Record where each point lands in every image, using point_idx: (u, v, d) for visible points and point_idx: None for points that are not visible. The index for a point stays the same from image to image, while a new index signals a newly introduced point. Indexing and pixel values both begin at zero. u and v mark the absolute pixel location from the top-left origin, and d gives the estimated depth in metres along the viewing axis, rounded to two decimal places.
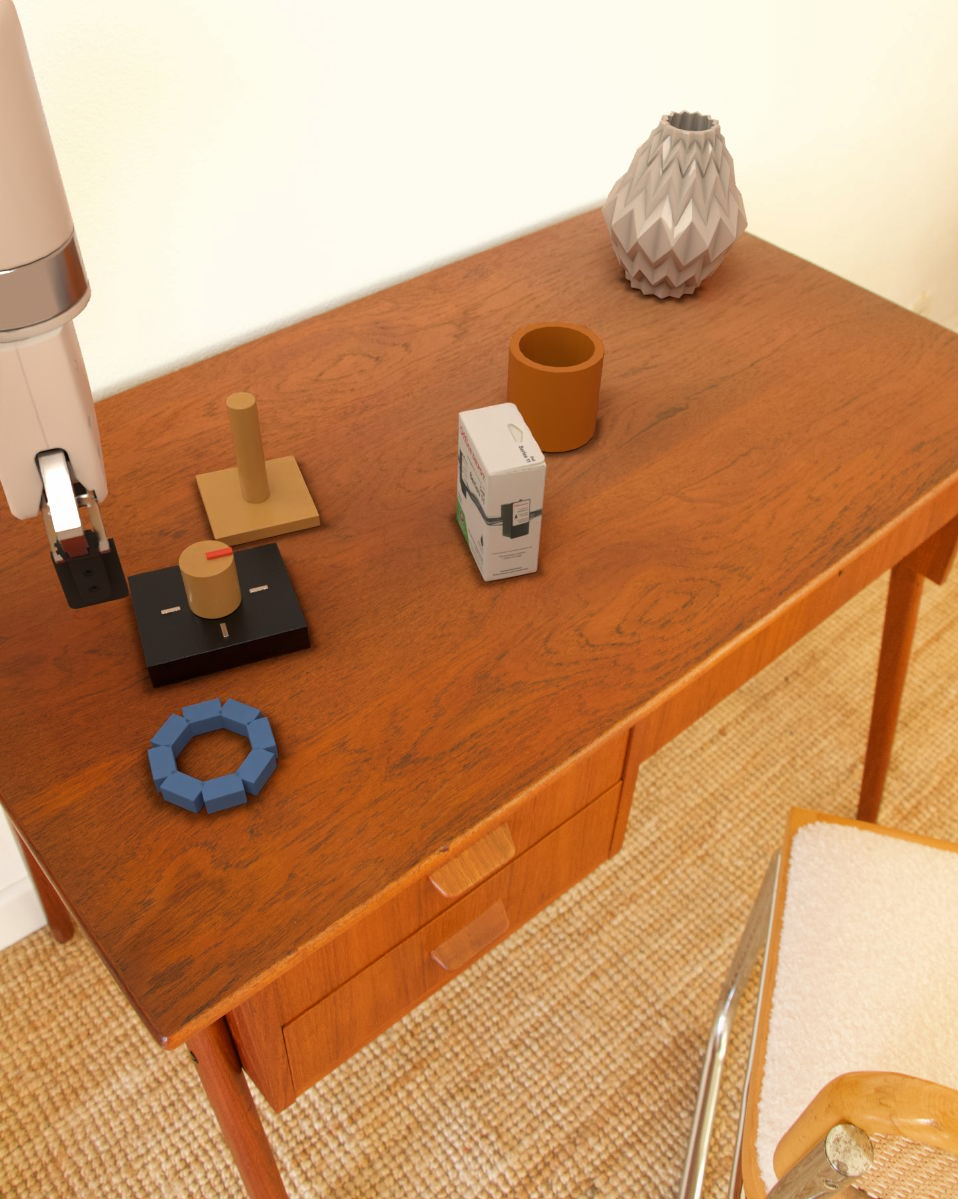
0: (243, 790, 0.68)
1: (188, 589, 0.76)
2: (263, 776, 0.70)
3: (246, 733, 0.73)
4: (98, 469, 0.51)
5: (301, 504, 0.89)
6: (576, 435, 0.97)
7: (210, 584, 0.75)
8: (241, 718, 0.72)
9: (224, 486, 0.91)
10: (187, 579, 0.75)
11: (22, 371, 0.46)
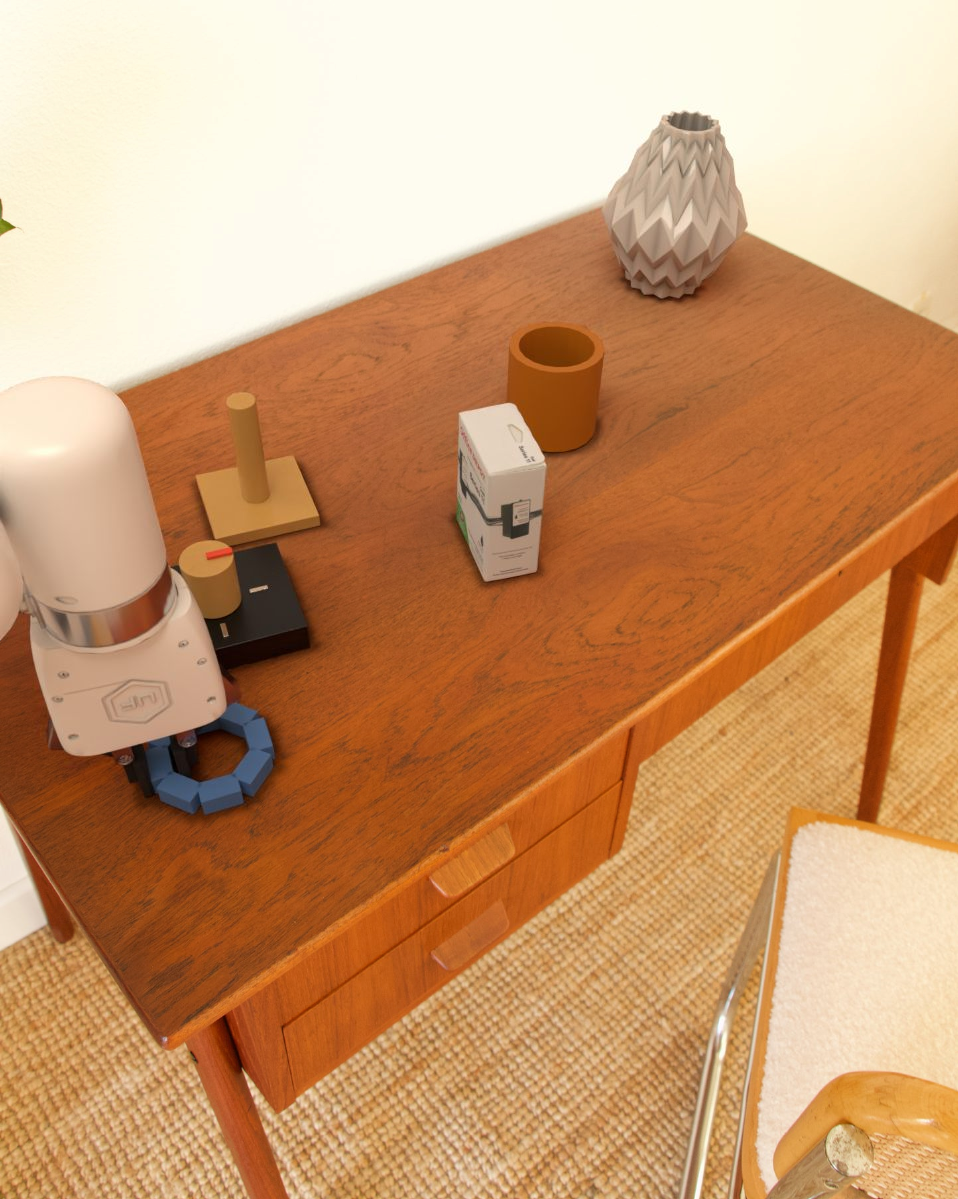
0: (240, 791, 0.68)
1: None
2: (260, 777, 0.70)
3: (243, 734, 0.73)
4: None
5: (301, 504, 0.89)
6: (576, 435, 0.97)
7: (210, 584, 0.75)
8: (238, 719, 0.72)
9: (224, 486, 0.91)
10: (187, 579, 0.75)
11: (194, 599, 0.61)
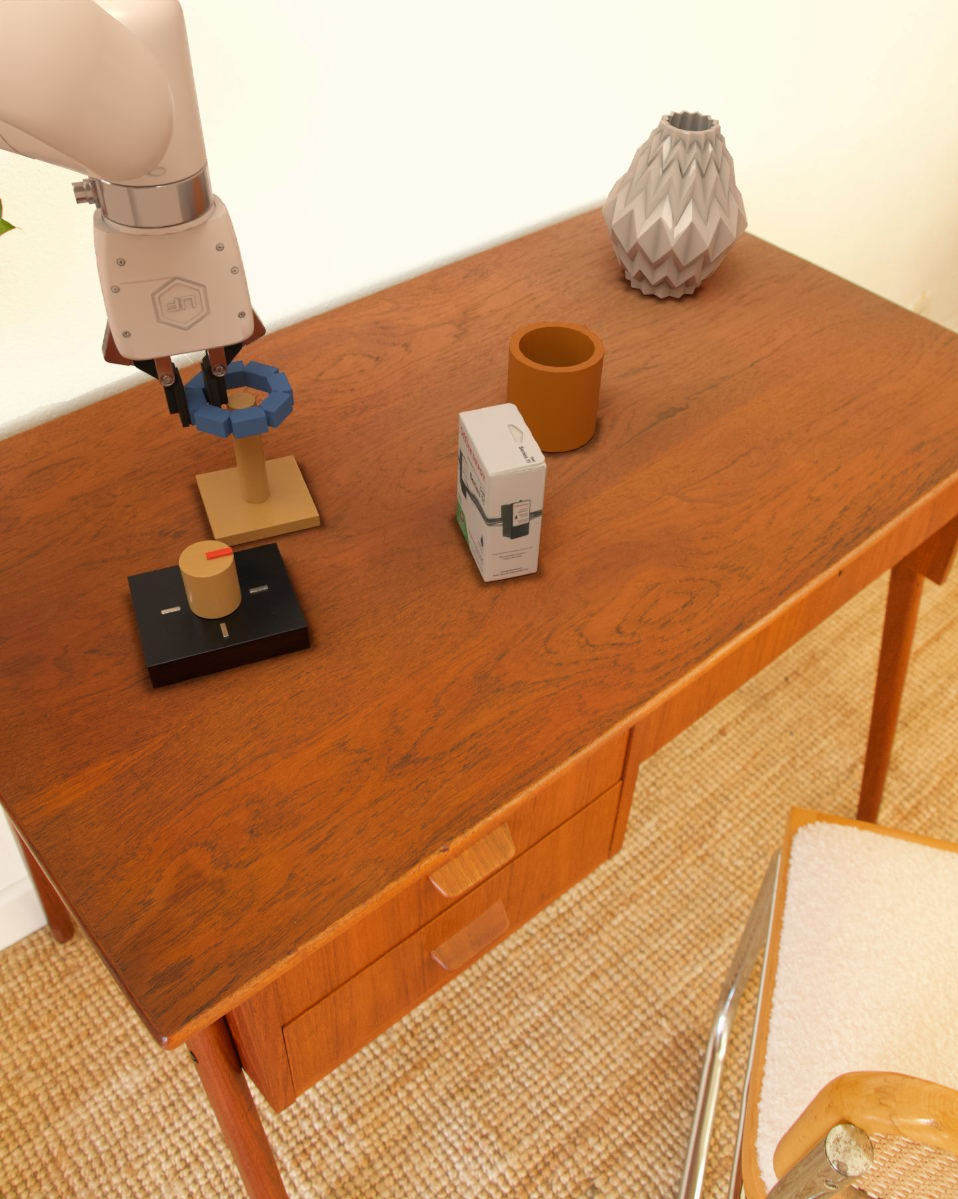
0: (265, 416, 0.80)
1: (188, 589, 0.76)
2: (282, 411, 0.81)
3: (266, 387, 0.84)
4: None
5: (301, 504, 0.89)
6: (576, 435, 0.97)
7: (210, 584, 0.75)
8: (261, 372, 0.84)
9: (224, 486, 0.91)
10: (187, 579, 0.75)
11: None
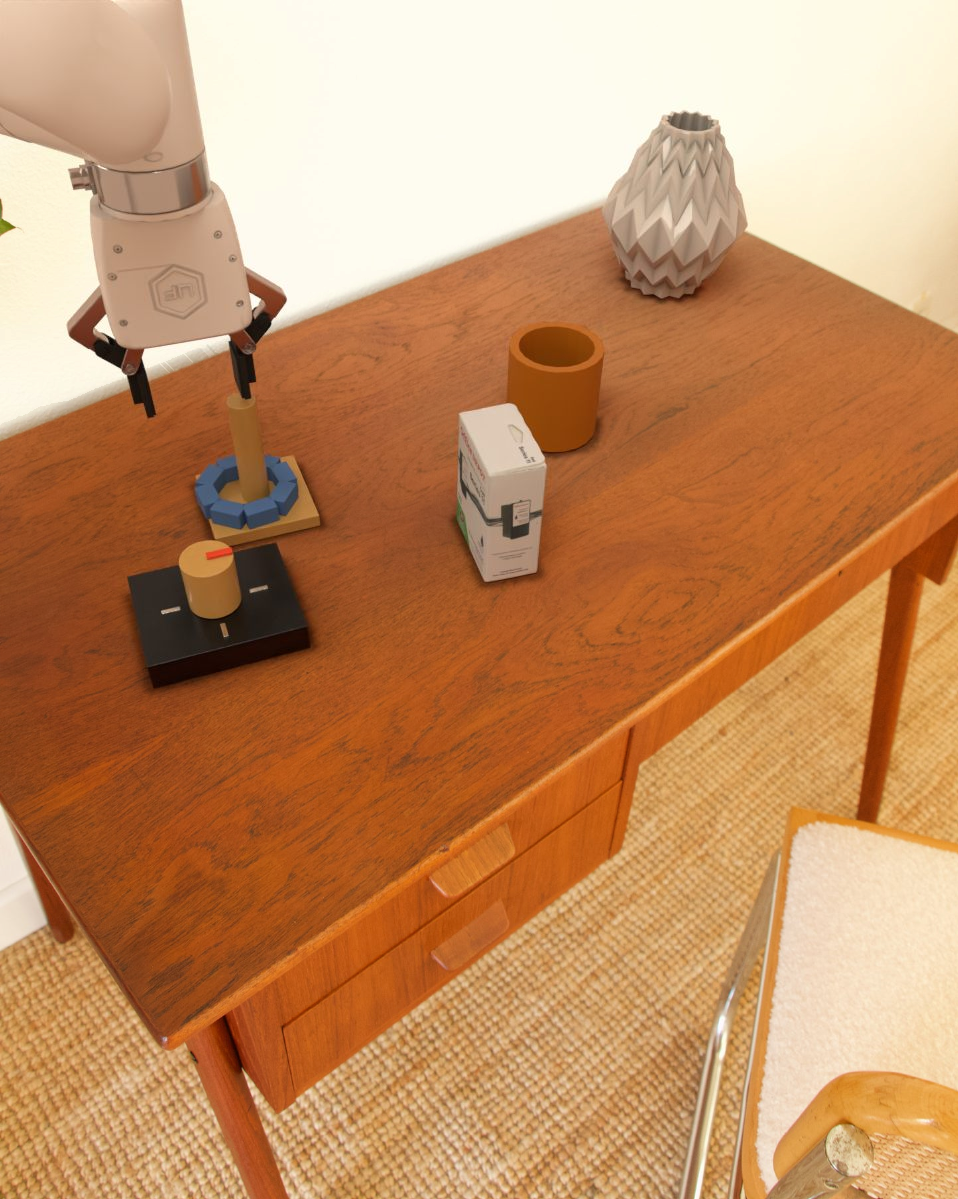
0: (276, 507, 0.87)
1: (188, 589, 0.76)
2: (290, 500, 0.88)
3: (270, 476, 0.91)
4: None
5: (301, 504, 0.89)
6: (576, 435, 0.97)
7: (210, 584, 0.75)
8: (265, 463, 0.91)
9: (224, 486, 0.91)
10: (187, 579, 0.75)
11: None
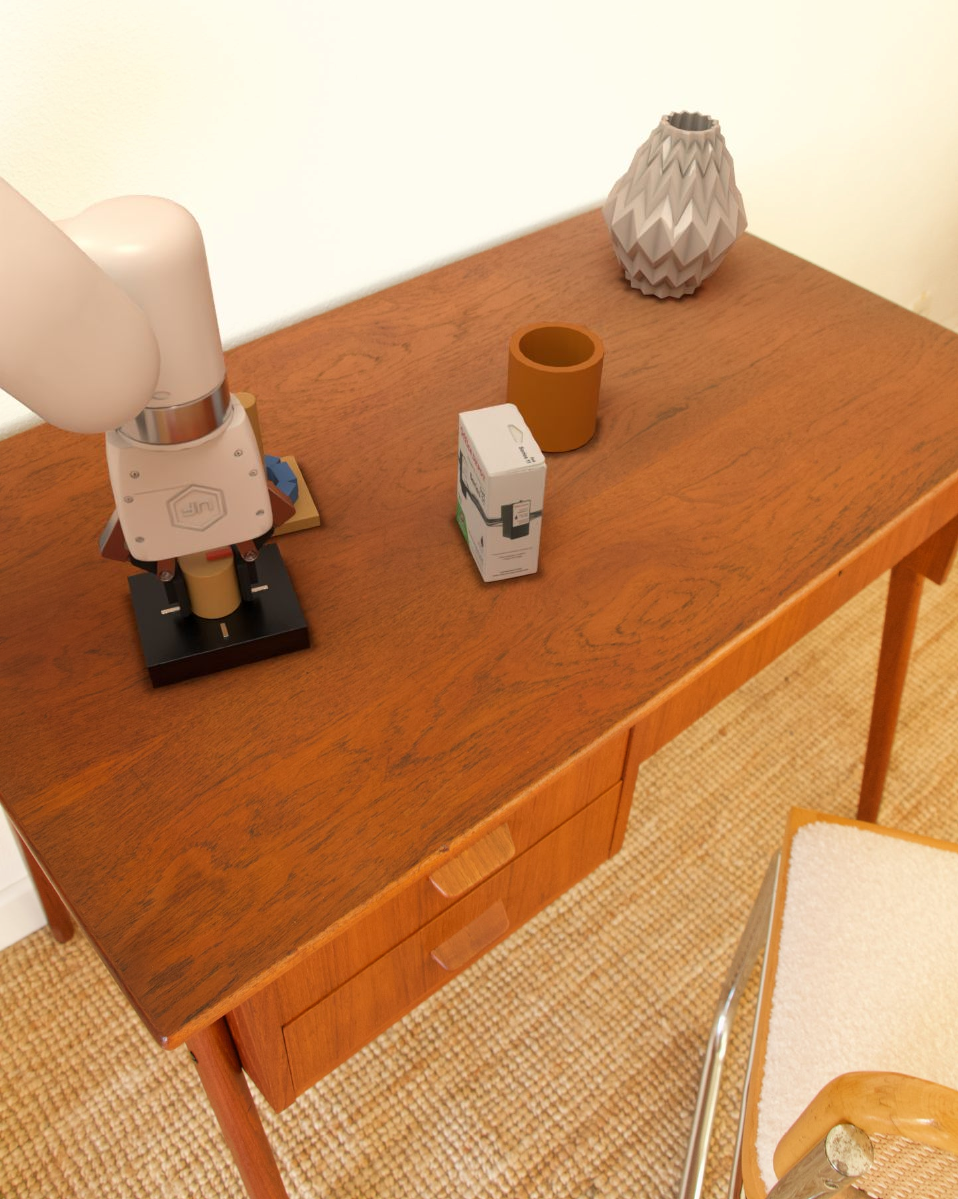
0: None
1: (188, 589, 0.76)
2: None
3: (270, 476, 0.91)
4: None
5: (301, 504, 0.89)
6: (576, 435, 0.97)
7: (210, 584, 0.75)
8: (265, 463, 0.91)
9: None
10: (187, 579, 0.75)
11: None
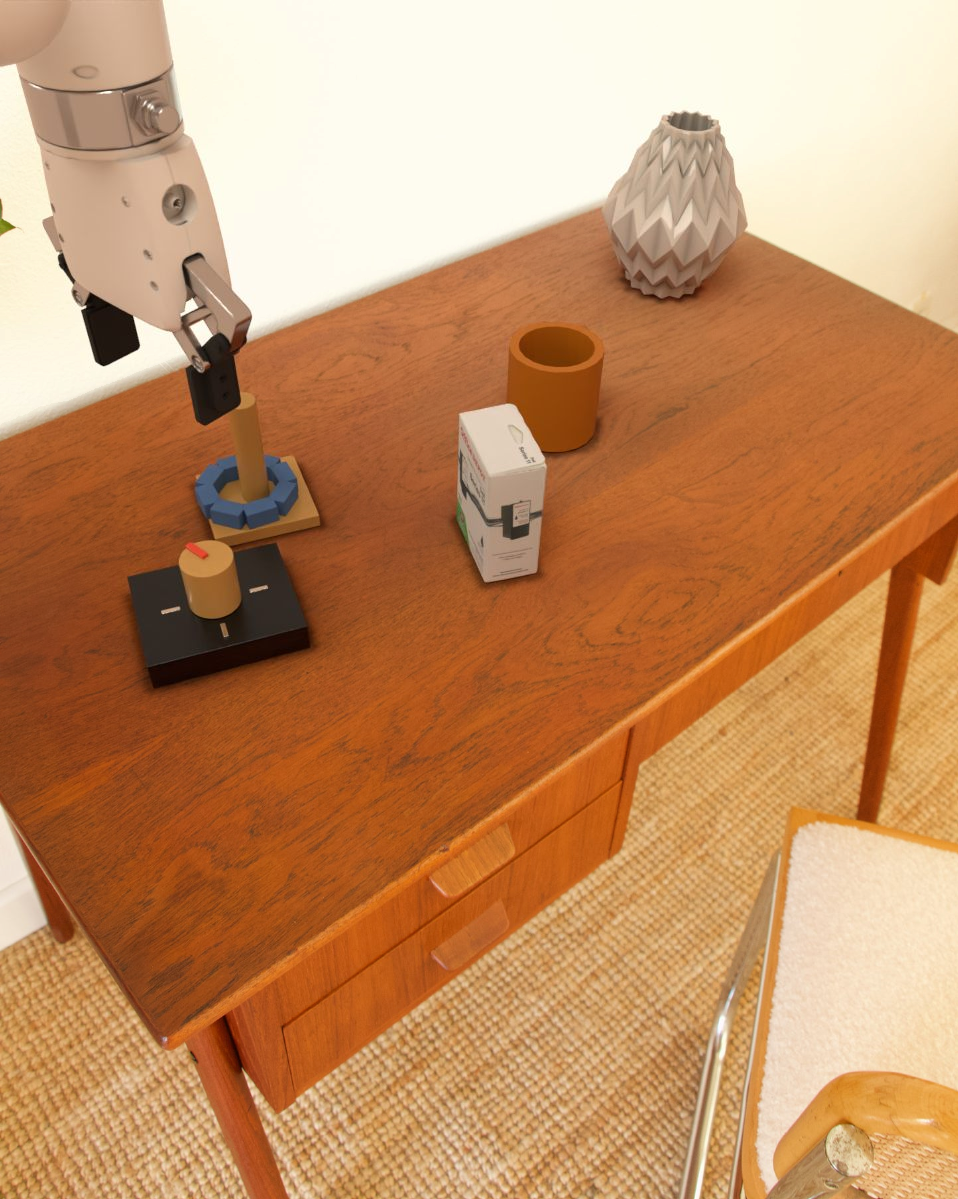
0: (276, 507, 0.87)
1: (235, 580, 0.77)
2: (290, 500, 0.88)
3: (270, 476, 0.91)
4: (60, 242, 0.60)
5: (301, 504, 0.89)
6: (576, 435, 0.97)
7: None
8: (265, 463, 0.91)
9: (224, 486, 0.91)
10: (233, 566, 0.76)
11: None
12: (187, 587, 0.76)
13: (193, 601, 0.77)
